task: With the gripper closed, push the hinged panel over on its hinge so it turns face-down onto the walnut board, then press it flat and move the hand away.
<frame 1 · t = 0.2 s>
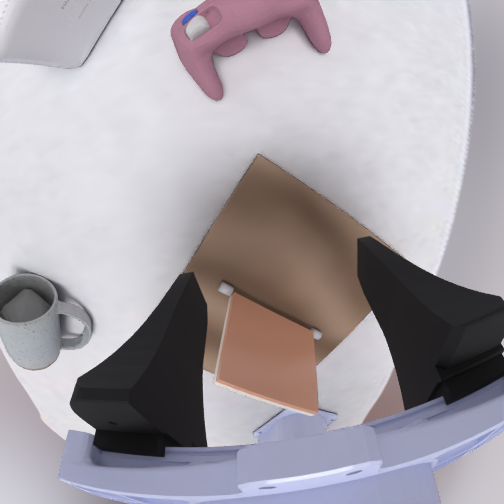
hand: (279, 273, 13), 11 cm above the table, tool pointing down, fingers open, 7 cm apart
hinged panel: (272, 350, 21), point 6 cm above the table, hinge at 80.0°
ceramic mug: (54, 305, 27), on the table
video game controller: (253, 43, 17), on the table
board: (272, 302, 26), on the table
photo printer: (95, 16, 15), on the table
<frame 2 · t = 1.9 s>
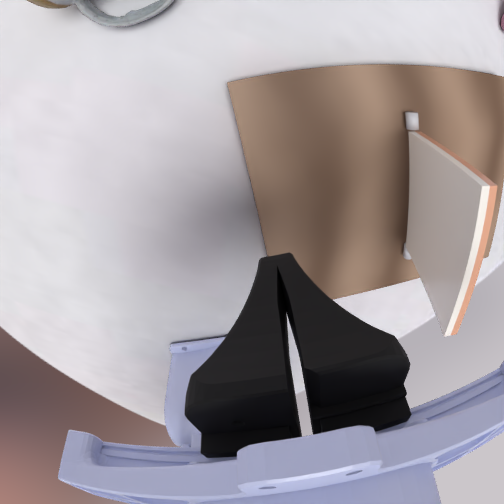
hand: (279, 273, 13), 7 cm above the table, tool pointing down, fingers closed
hinged panel: (436, 222, 13), point 6 cm above the table, hinge at 80.0°
board: (401, 181, 18), on the table
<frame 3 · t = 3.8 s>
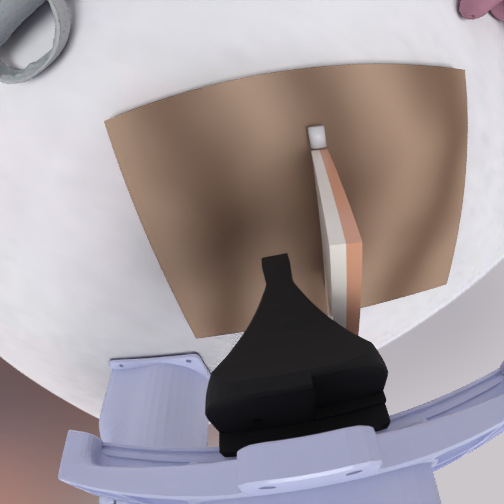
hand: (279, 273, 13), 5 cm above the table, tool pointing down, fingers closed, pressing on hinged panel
hinged panel: (334, 264, 12), point 6 cm above the table, hinge at 80.3°, touching gripper
ceramic mug: (33, 7, 8), on the table
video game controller: (501, 26, 9), on the table
board: (319, 206, 17), on the table
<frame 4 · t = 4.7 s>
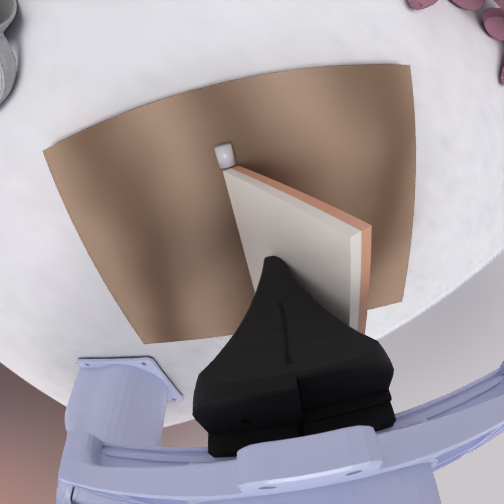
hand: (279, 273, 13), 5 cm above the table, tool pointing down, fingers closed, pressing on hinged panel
hinged panel: (287, 272, 13), point 5 cm above the table, hinge at 117.0°, touching gripper
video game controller: (467, 16, 9), on the table
board: (245, 222, 17), on the table
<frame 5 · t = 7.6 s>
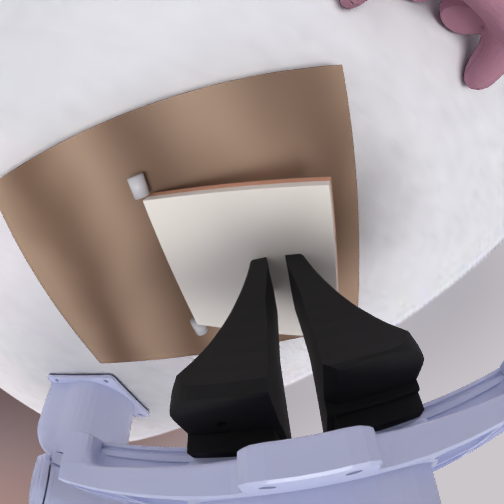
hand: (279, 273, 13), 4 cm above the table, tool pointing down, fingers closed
hinged panel: (240, 268, 14), point 3 cm above the table, hinge at 158.8°, touching gripper
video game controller: (420, 9, 9), on the table
board: (176, 249, 16), on the table
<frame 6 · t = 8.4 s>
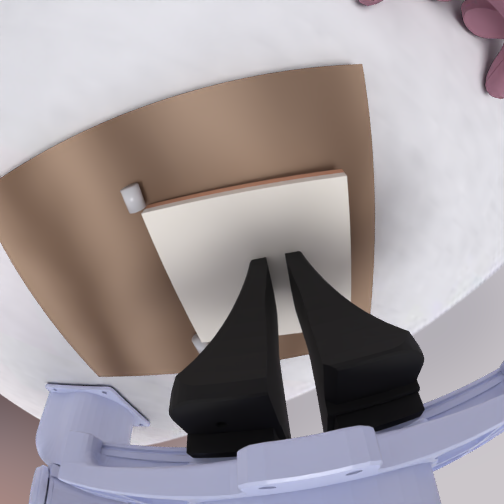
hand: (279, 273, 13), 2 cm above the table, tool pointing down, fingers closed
hinged panel: (251, 273, 13), point 2 cm above the table, hinge at 174.9°, touching gripper
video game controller: (441, 9, 8), on the table
board: (176, 263, 15), on the table
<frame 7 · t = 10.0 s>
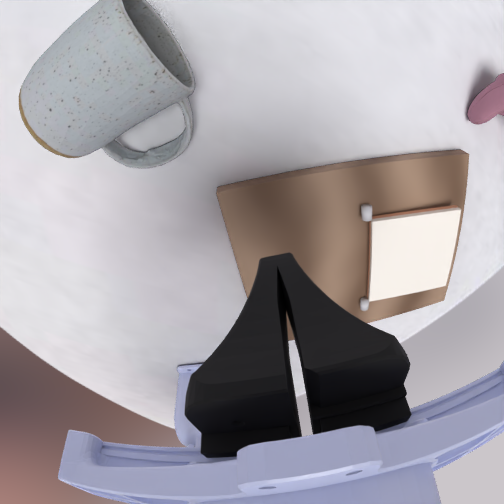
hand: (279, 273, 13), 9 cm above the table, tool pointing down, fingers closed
hinged panel: (410, 256, 22), point 2 cm above the table, hinge at 175.1°
ceramic mug: (139, 87, 16), on the table
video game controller: (499, 115, 17), on the table
board: (359, 252, 24), on the table
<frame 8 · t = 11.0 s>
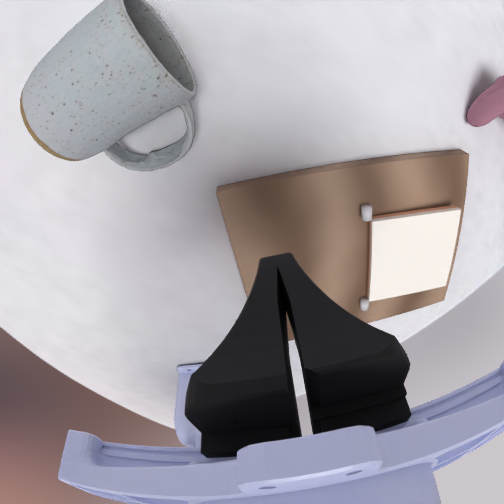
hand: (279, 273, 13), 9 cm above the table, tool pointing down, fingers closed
hinged panel: (410, 256, 22), point 2 cm above the table, hinge at 175.1°
ceramic mug: (140, 89, 16), on the table
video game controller: (498, 117, 17), on the table
board: (359, 252, 24), on the table
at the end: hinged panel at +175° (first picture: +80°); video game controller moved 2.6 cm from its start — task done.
